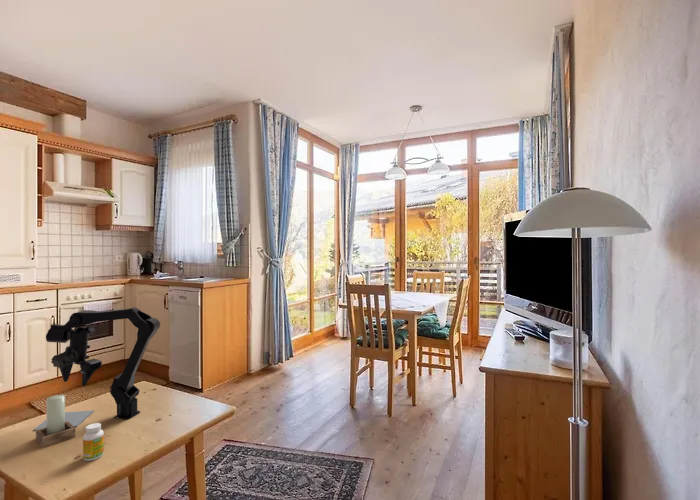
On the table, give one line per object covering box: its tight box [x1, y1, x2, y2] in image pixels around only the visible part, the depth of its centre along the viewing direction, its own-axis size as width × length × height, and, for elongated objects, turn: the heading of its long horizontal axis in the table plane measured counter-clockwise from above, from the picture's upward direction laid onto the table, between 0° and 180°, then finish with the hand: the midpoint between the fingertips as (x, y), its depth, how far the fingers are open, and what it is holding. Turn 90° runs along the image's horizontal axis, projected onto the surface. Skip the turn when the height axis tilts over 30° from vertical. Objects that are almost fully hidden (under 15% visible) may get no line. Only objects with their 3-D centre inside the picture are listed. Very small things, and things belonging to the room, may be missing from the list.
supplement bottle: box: [82, 422, 105, 462], centre depth 118 cm, size 5×5×10 cm
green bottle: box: [46, 394, 66, 436], centre depth 130 cm, size 5×5×14 cm
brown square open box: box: [35, 421, 76, 448], centre depth 130 cm, size 9×9×3 cm
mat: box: [32, 409, 95, 432], centre depth 143 cm, size 14×14×1 cm
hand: (74, 383), depth 145 cm, fingers open, 9 cm apart
